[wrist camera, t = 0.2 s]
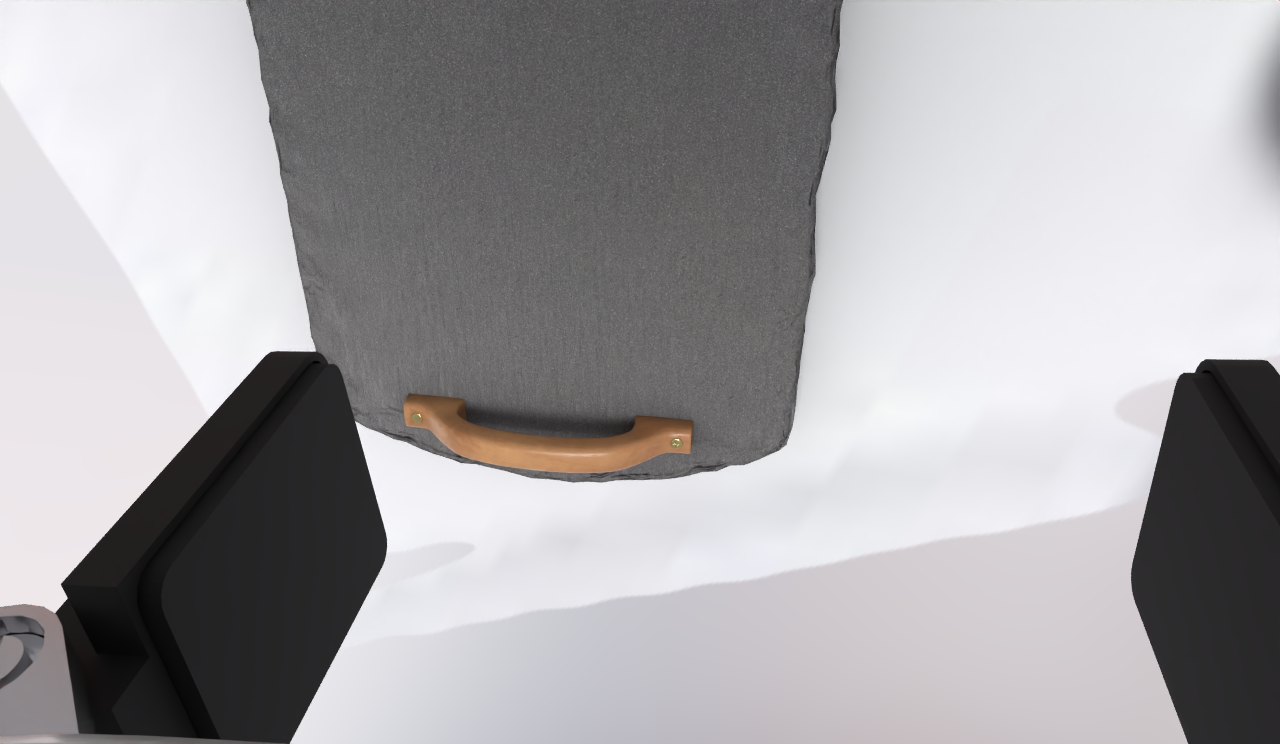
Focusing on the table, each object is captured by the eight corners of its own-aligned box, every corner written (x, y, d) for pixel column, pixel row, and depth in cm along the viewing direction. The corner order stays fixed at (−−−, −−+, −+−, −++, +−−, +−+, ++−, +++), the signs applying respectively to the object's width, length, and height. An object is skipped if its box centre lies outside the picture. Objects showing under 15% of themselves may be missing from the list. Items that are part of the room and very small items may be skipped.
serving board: (182, -544, 32) (61, -599, 27) (912, -559, 30) (933, -623, 24) (352, 428, 53) (302, 502, 48) (790, 471, 50) (787, 556, 45)
